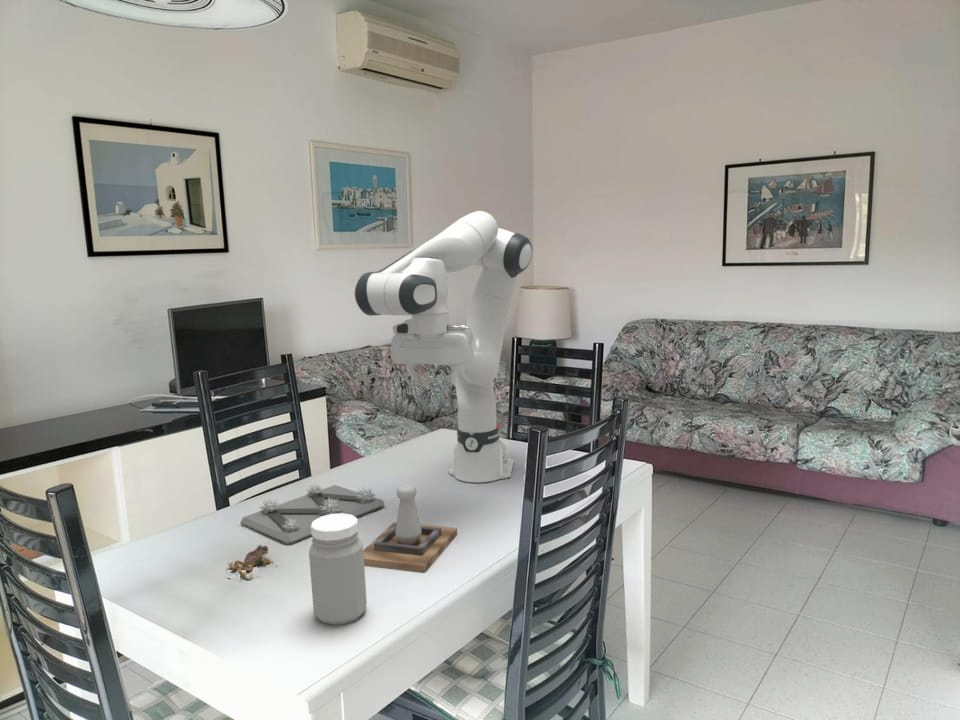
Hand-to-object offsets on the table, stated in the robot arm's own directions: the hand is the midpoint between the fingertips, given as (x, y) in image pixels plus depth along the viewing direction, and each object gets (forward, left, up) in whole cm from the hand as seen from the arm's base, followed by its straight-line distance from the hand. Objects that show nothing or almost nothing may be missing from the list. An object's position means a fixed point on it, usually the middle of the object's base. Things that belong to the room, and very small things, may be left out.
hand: (433, 382), depth 170 cm
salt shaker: (+19, 0, -33) cm, 38 cm away
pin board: (+19, 0, -34) cm, 39 cm away
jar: (+48, -1, -34) cm, 59 cm away
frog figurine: (+36, -30, -35) cm, 58 cm away
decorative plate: (+6, -32, -35) cm, 47 cm away
